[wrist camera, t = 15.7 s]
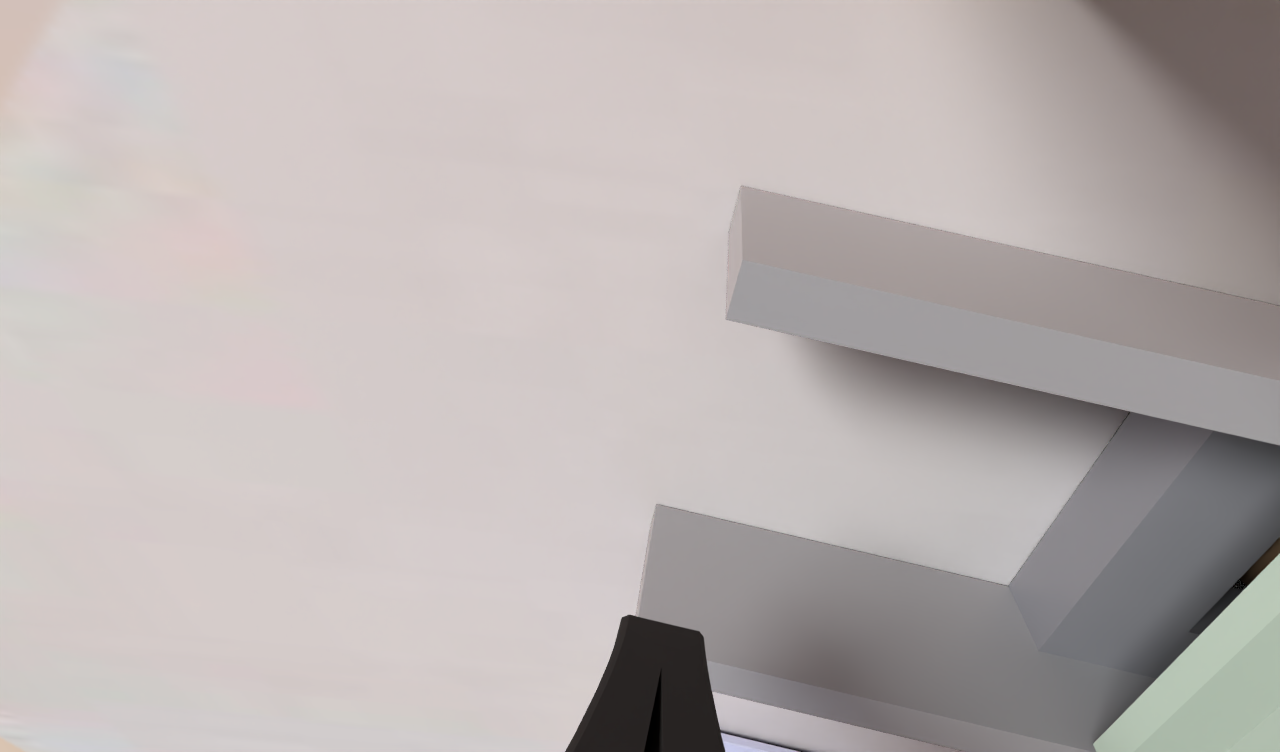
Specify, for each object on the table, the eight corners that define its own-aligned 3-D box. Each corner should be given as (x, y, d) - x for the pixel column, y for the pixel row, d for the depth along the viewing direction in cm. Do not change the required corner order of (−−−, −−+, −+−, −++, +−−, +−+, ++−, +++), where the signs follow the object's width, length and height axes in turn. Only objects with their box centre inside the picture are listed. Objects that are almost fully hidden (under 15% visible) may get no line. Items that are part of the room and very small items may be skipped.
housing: (1340, 691, 22) (1507, 880, 17) (649, 529, 22) (626, 670, 18) (1702, 400, 16) (2117, 569, 11) (740, 185, 16) (742, 259, 11)
